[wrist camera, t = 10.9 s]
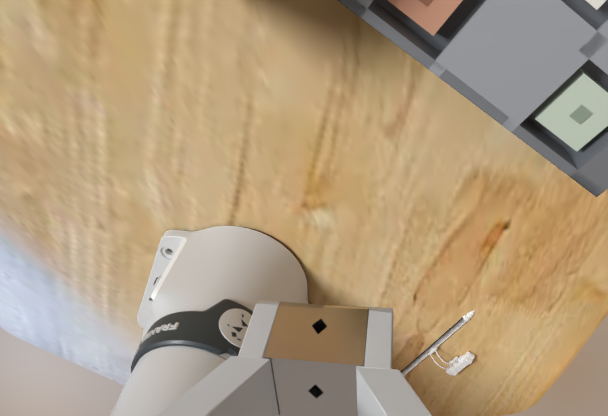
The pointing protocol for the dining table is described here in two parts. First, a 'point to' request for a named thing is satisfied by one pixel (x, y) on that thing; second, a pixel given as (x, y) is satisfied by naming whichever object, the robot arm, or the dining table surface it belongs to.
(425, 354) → the picture light
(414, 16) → the key terracotta
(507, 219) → the dining table surface
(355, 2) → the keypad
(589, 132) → the key sage
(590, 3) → the key cream
